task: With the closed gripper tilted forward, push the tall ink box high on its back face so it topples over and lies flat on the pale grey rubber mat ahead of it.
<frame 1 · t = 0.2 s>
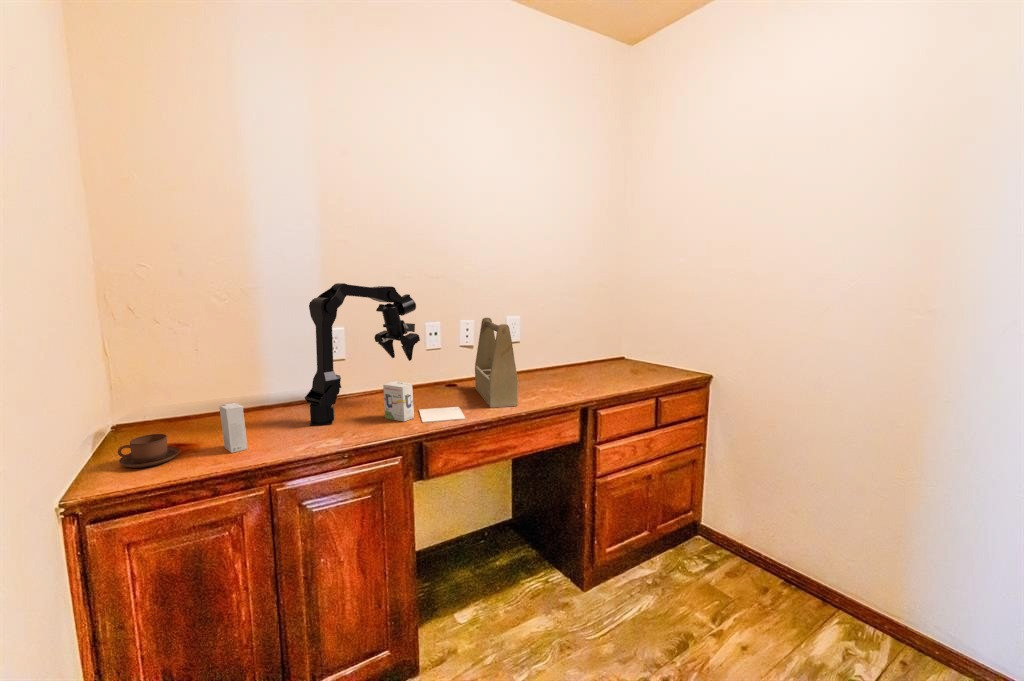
hand: (401, 359, 174), 16 cm above the table, tool pointing down, fingers open, 9 cm apart
caddy: (495, 397, 180), on the table
skincare box: (235, 449, 126), on the table
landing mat: (441, 414, 157), on the table
cup and saucer: (151, 462, 117), on the table
ink box: (399, 419, 153), on the table
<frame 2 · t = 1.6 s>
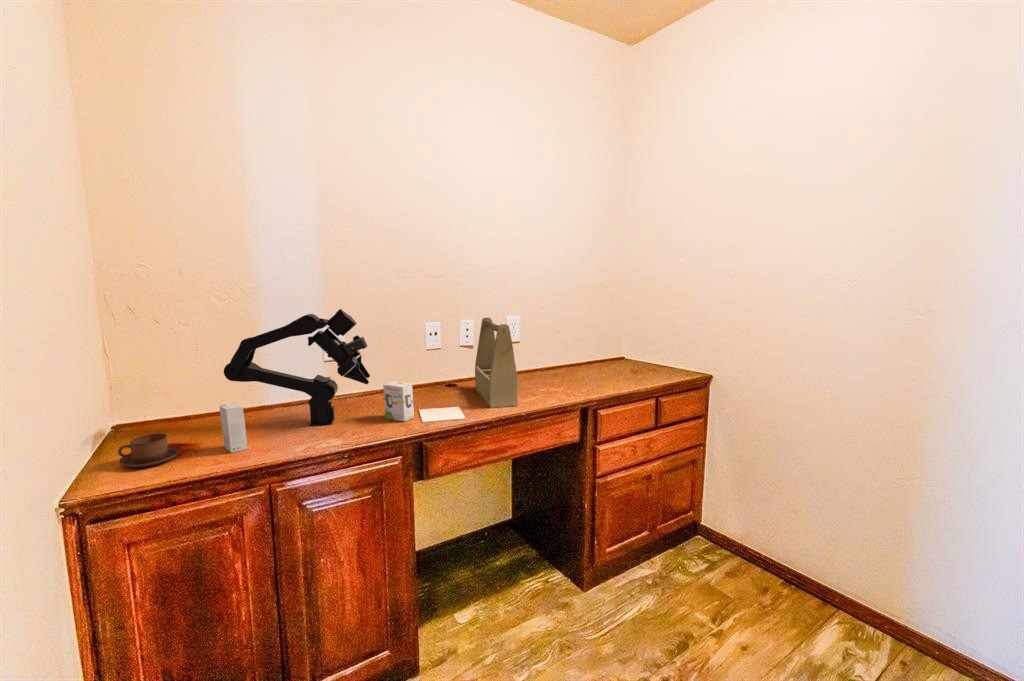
hand: (368, 380, 150), 13 cm above the table, tool tilted 40°, fingers open, 9 cm apart
nothing on the table moved.
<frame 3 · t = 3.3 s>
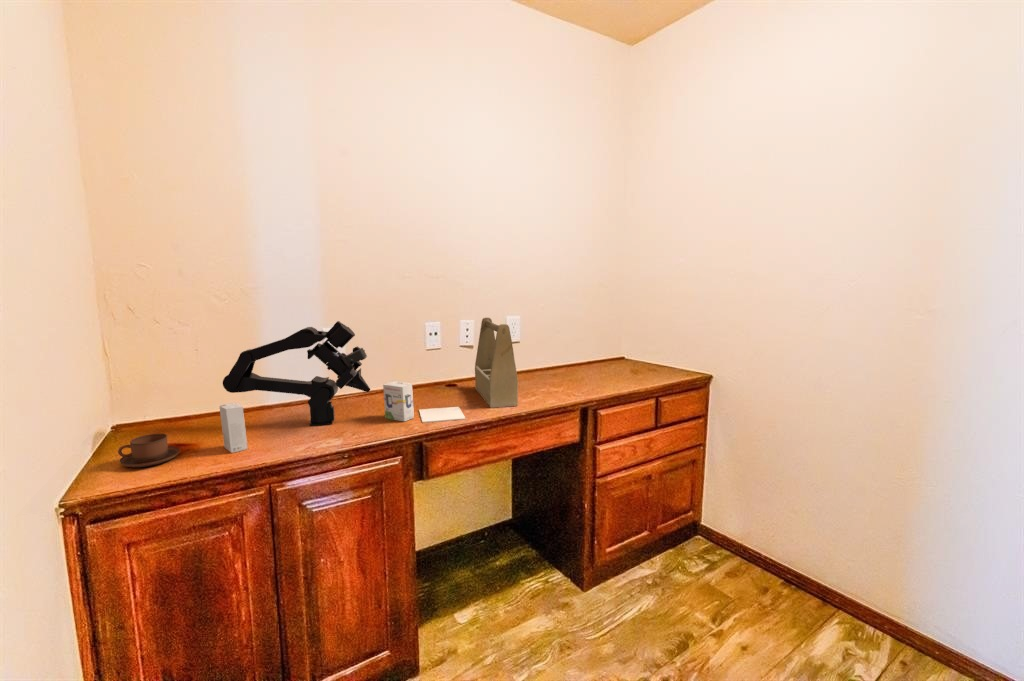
hand: (369, 390, 150), 10 cm above the table, tool tilted 45°, fingers closed
nothing on the table moved.
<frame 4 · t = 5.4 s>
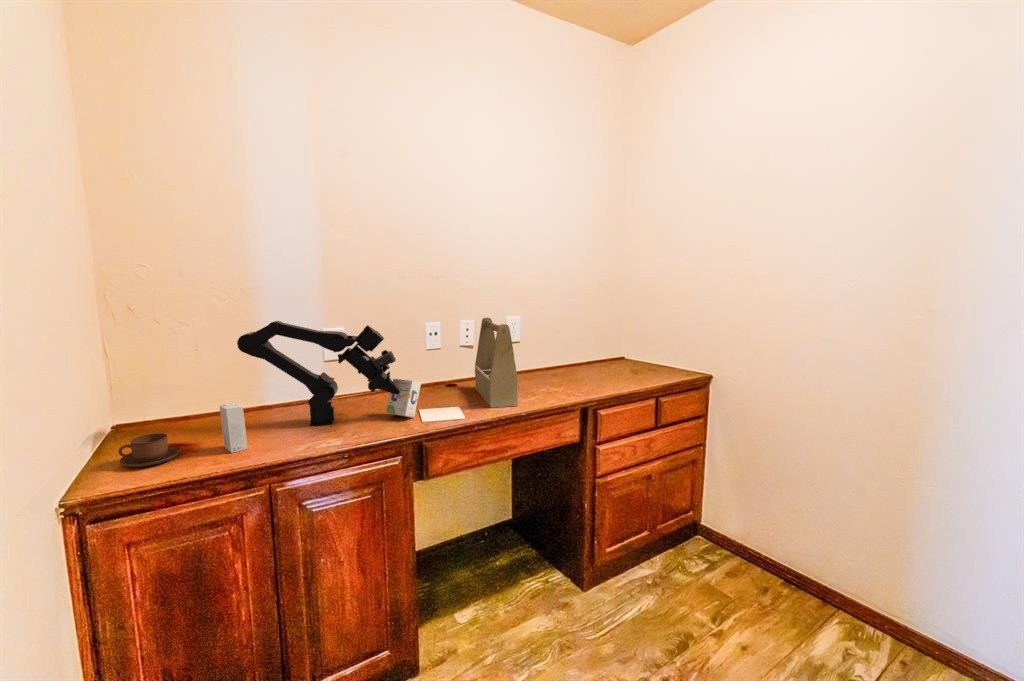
hand: (398, 393, 152), 8 cm above the table, tool tilted 45°, fingers closed
ink box: (399, 415, 153), point 1 cm above the table
everything else where it was.
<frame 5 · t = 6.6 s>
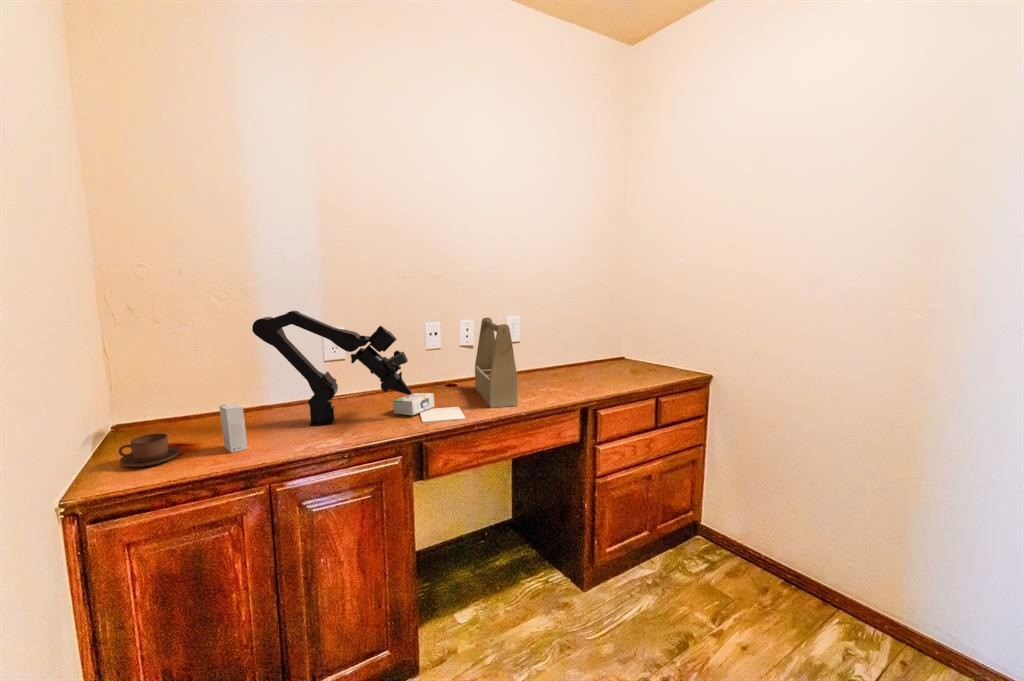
hand: (410, 393, 153), 8 cm above the table, tool tilted 45°, fingers closed
ink box: (402, 407, 155), point 3 cm above the table, touching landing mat
everything else where it was.
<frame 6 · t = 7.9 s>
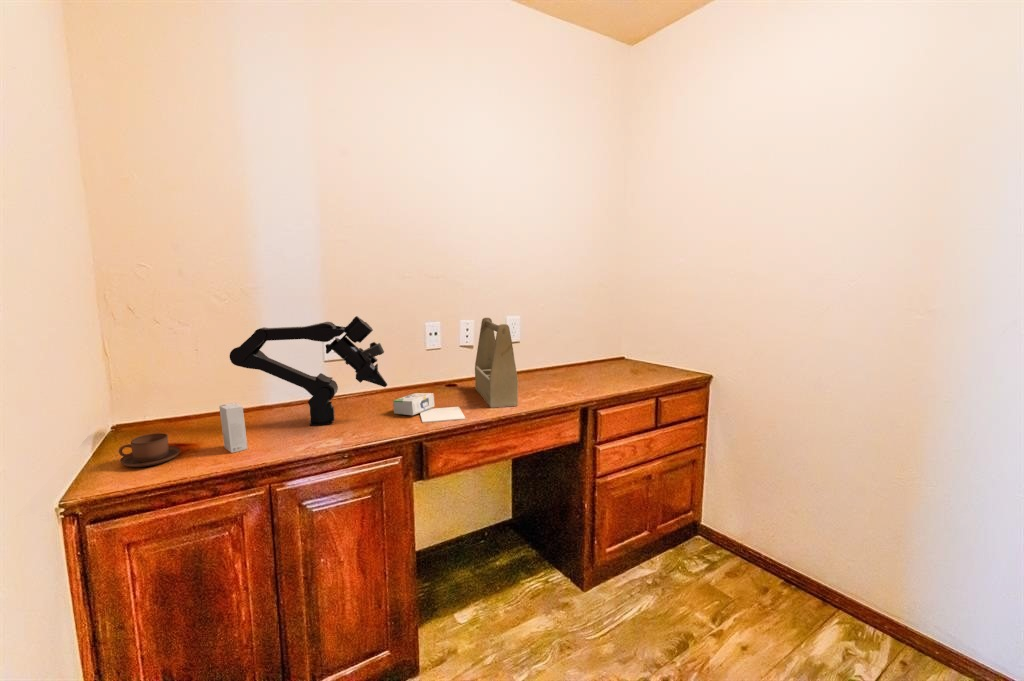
hand: (386, 385, 151), 11 cm above the table, tool tilted 45°, fingers closed
nothing on the table moved.
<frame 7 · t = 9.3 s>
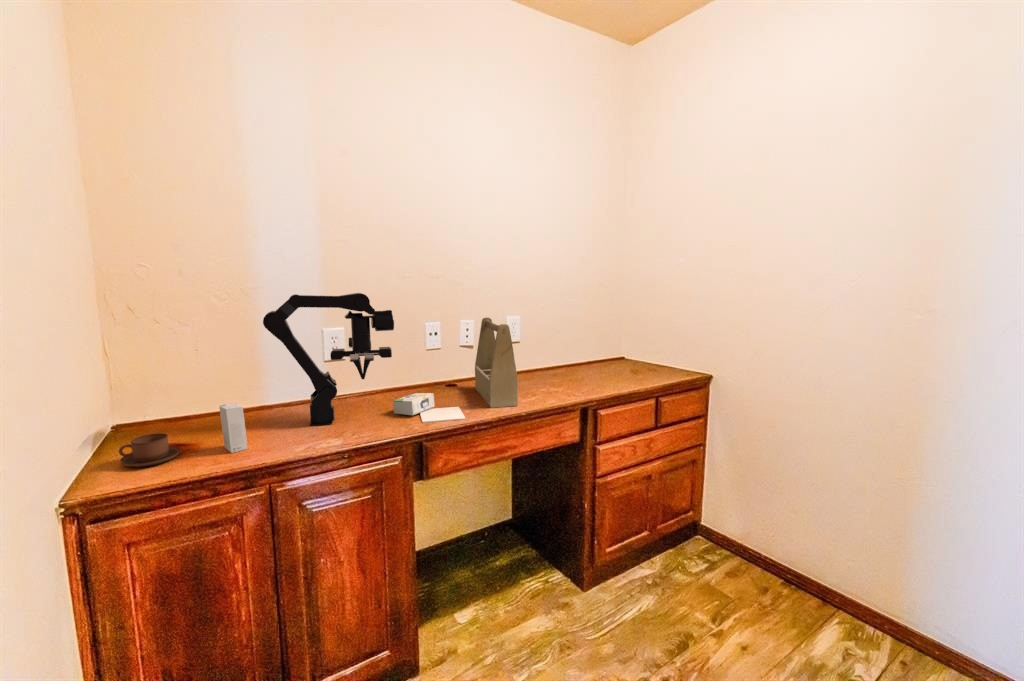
hand: (363, 379, 152), 13 cm above the table, tool pointing down, fingers closed
nothing on the table moved.
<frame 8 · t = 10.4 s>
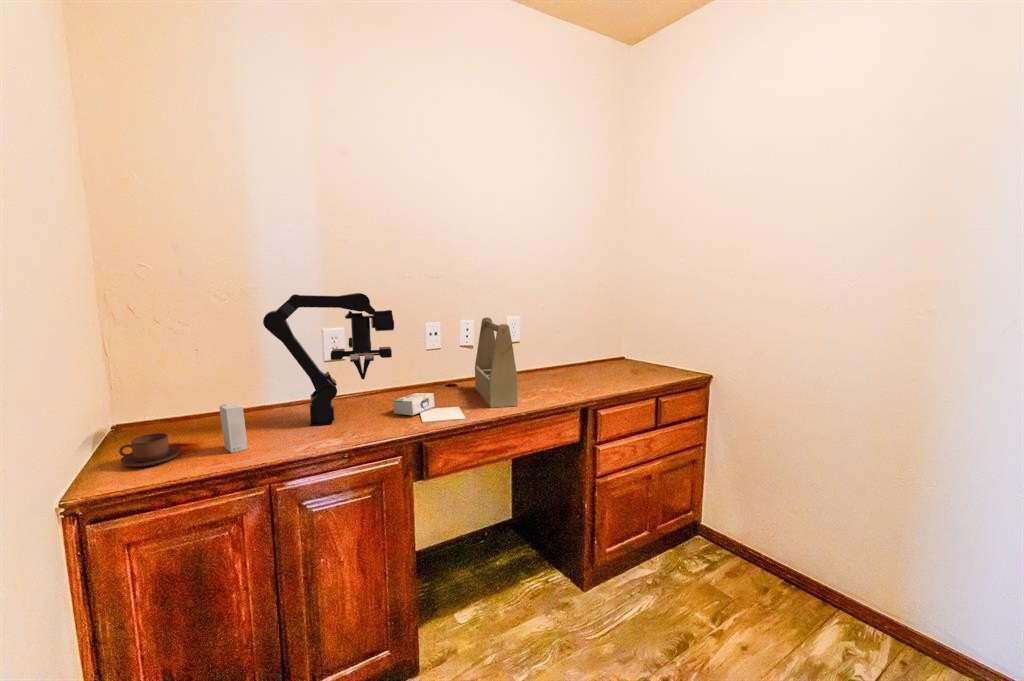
hand: (363, 379, 152), 13 cm above the table, tool pointing down, fingers closed
nothing on the table moved.
at the end: ink box tilted 91°; ink box touching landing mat, table; ink box inside the target area (3.7 cm from its centre), point 2.9 cm above the table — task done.
